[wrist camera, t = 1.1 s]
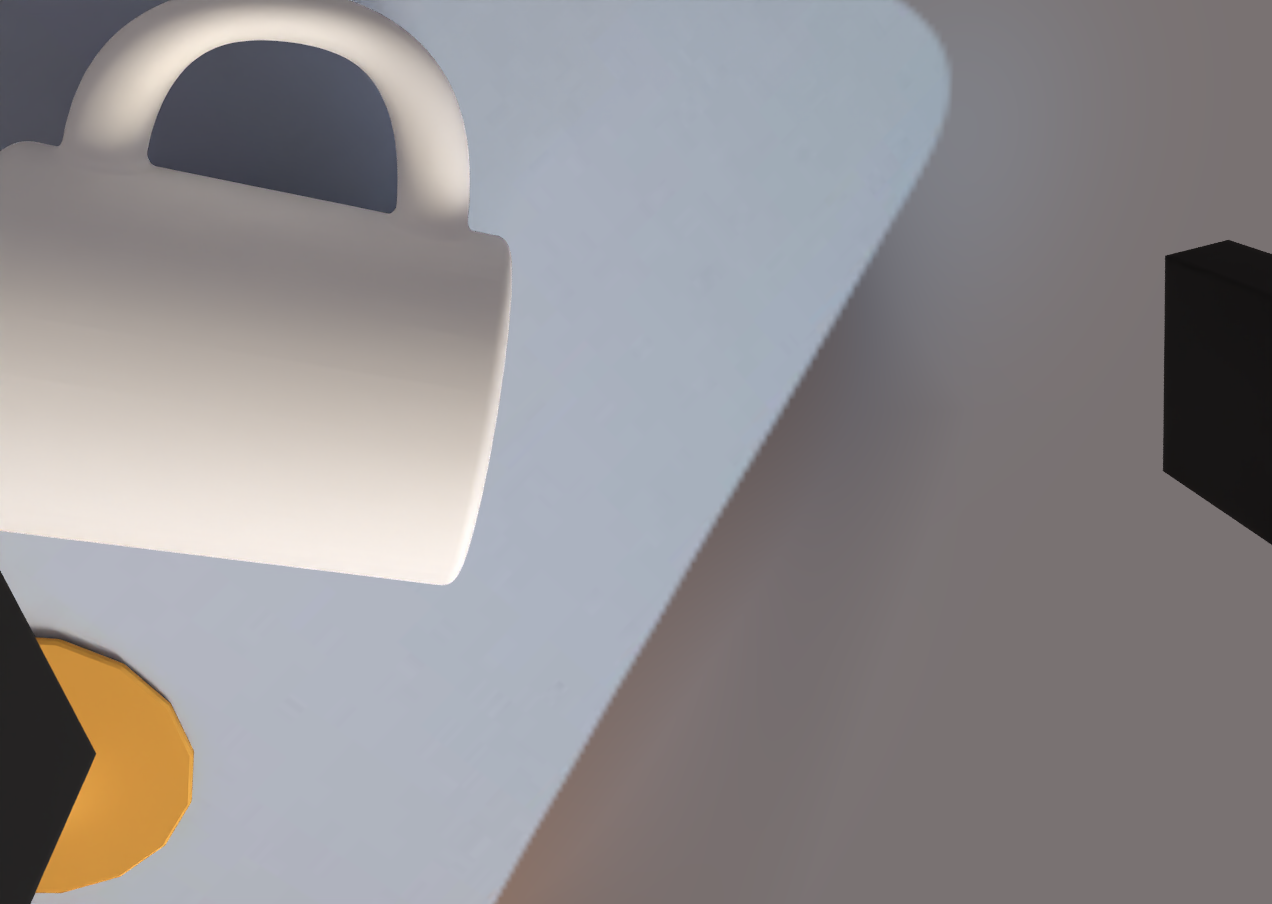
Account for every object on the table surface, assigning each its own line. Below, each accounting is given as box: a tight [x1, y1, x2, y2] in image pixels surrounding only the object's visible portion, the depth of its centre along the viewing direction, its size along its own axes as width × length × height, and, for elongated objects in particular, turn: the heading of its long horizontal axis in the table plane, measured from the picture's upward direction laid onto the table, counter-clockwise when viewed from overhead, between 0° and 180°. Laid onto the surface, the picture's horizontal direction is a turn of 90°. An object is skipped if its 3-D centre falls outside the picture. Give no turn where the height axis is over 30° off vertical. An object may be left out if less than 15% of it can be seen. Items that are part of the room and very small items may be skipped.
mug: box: [0, 0, 512, 585], centre depth 23 cm, size 12×10×8 cm
